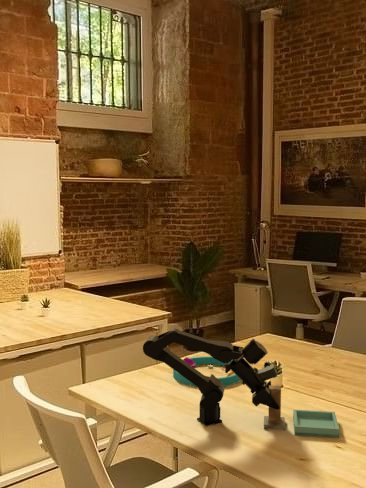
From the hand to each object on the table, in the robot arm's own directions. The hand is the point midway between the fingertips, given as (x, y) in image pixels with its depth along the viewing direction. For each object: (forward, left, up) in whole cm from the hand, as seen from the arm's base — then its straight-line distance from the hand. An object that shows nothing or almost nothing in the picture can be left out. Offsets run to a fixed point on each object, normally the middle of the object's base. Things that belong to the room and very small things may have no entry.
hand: (278, 406), depth 191 cm
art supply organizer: (+8, +55, -7) cm, 56 cm away
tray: (+9, -8, -7) cm, 14 cm away
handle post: (-1, +1, -7) cm, 7 cm away
